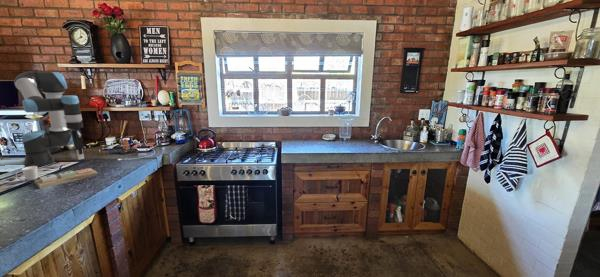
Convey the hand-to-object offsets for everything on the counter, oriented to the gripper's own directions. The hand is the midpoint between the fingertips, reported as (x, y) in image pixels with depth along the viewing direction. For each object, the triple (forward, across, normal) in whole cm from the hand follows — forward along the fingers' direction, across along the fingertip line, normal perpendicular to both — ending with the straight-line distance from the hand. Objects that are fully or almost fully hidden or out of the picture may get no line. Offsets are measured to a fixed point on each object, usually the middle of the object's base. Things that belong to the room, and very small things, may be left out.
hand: (81, 158), depth 156 cm
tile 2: (+9, 0, -8) cm, 12 cm away
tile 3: (+10, 0, 0) cm, 10 cm away
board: (+11, 0, -8) cm, 14 cm away
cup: (+12, -15, -22) cm, 29 cm away
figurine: (+12, -38, +39) cm, 55 cm away
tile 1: (+9, 0, -16) cm, 18 cm away
